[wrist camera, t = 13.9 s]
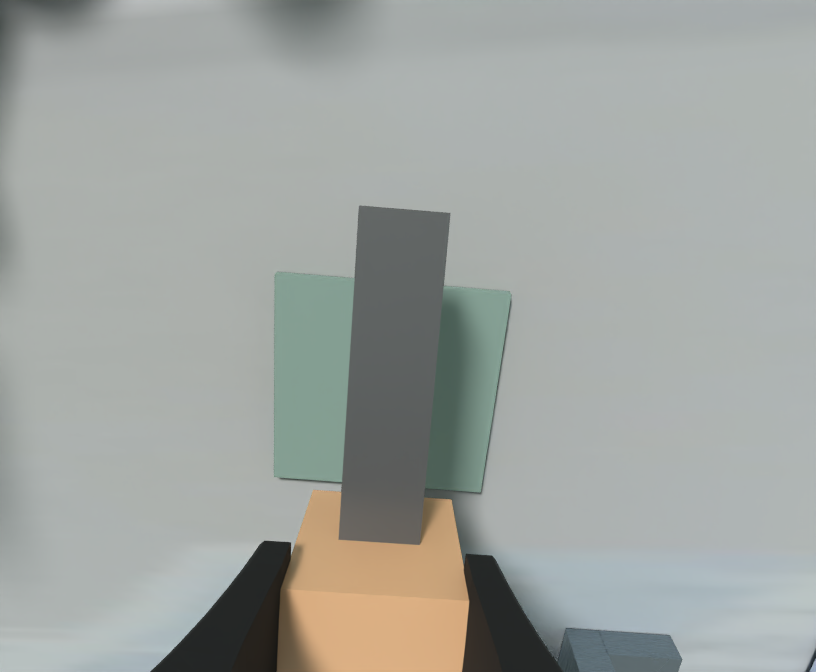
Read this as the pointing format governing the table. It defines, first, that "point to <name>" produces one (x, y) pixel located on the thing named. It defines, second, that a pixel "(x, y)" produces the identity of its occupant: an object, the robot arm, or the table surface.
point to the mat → (329, 370)
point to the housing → (617, 652)
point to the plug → (383, 481)
